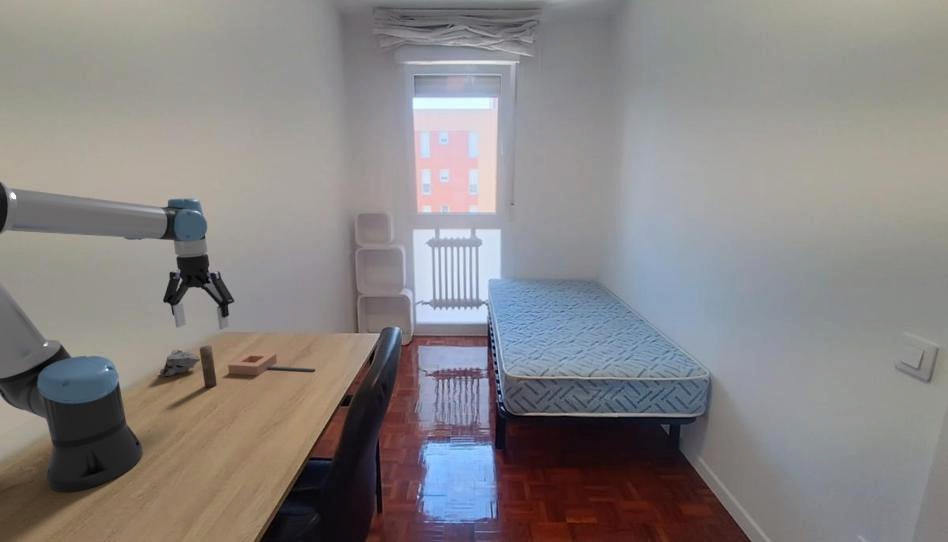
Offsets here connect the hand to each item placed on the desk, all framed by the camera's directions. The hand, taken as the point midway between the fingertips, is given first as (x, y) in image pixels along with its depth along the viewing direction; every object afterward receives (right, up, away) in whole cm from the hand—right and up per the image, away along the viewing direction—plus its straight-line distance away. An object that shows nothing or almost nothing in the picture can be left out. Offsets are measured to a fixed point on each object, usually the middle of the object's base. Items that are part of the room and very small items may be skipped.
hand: (202, 326), depth 124 cm
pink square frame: (+7, -15, +16) cm, 23 cm away
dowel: (0, -18, +4) cm, 18 cm away
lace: (+20, -16, +14) cm, 29 cm away
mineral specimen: (-15, -16, +13) cm, 26 cm away
